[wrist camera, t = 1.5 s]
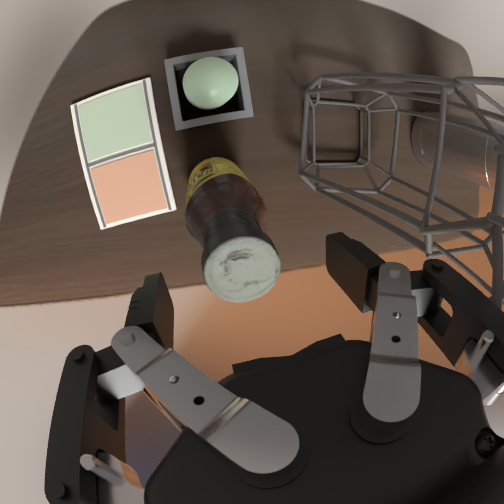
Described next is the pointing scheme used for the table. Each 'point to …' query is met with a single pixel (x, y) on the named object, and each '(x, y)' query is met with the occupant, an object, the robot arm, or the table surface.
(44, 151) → the table surface
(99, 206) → the colouring card
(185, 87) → the button
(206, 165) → the sauce bottle
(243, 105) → the button housing
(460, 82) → the geometric lantern
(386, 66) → the table surface
